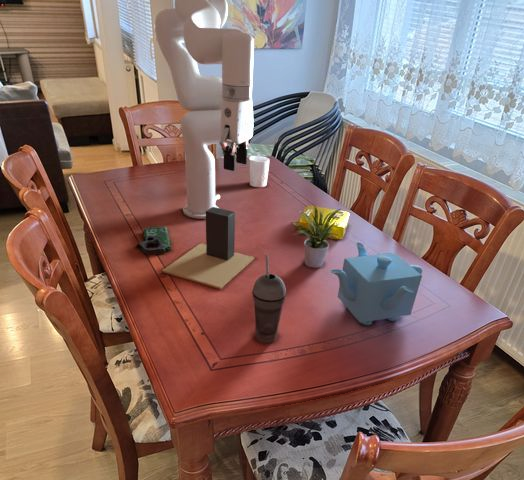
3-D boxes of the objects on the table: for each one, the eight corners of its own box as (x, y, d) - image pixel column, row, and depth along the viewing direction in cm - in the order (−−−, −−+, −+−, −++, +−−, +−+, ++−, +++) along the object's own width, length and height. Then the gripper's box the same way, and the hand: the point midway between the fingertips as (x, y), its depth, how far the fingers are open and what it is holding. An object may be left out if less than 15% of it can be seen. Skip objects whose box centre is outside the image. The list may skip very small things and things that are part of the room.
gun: (134, 227, 145) (167, 225, 147) (135, 231, 145) (167, 230, 148) (136, 250, 132) (172, 248, 134) (137, 255, 133) (172, 253, 135)
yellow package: (305, 216, 163) (307, 203, 160) (348, 223, 160) (350, 210, 157) (296, 233, 151) (297, 219, 148) (342, 241, 149) (344, 226, 146)
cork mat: (200, 244, 141) (200, 242, 140) (254, 259, 135) (254, 257, 135) (162, 272, 126) (162, 270, 126) (220, 289, 121) (220, 287, 120)
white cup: (267, 188, 184) (269, 162, 177) (247, 187, 183) (248, 161, 177) (267, 182, 190) (269, 156, 184) (248, 180, 190) (249, 155, 183)
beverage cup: (271, 350, 102) (278, 268, 89) (243, 338, 104) (246, 257, 92) (287, 334, 107) (296, 254, 94) (260, 323, 109) (265, 245, 97)
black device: (213, 249, 137) (213, 206, 129) (234, 255, 135) (235, 211, 127) (206, 254, 134) (205, 211, 126) (227, 260, 132) (228, 216, 124)
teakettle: (415, 305, 120) (431, 252, 111) (399, 342, 107) (415, 286, 98) (345, 285, 126) (355, 234, 117) (321, 319, 112) (330, 264, 103)
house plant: (313, 246, 144) (320, 194, 134) (348, 263, 137) (358, 208, 127) (281, 259, 136) (286, 205, 126) (317, 278, 128) (325, 221, 118)
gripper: (234, 99, 109) (232, 177, 120) (265, 89, 121) (261, 161, 132) (206, 95, 111) (207, 172, 122) (239, 86, 123) (238, 156, 134)
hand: (235, 165), depth 127 cm, fingers open, 6 cm apart
